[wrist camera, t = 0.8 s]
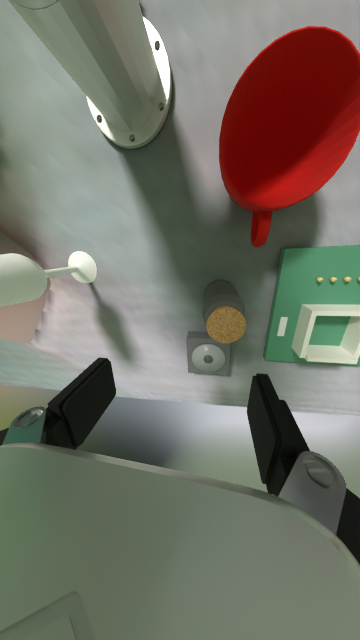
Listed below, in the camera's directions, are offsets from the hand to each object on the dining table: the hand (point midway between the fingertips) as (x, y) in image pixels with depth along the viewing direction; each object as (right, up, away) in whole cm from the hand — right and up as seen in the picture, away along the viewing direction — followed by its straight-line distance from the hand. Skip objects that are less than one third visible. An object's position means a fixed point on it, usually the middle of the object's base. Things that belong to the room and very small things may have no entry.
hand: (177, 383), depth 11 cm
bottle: (+8, +9, +23) cm, 26 cm away
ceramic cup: (+12, +25, +16) cm, 32 cm away
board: (+27, +6, +21) cm, 35 cm away
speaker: (+7, -3, +28) cm, 29 cm away
